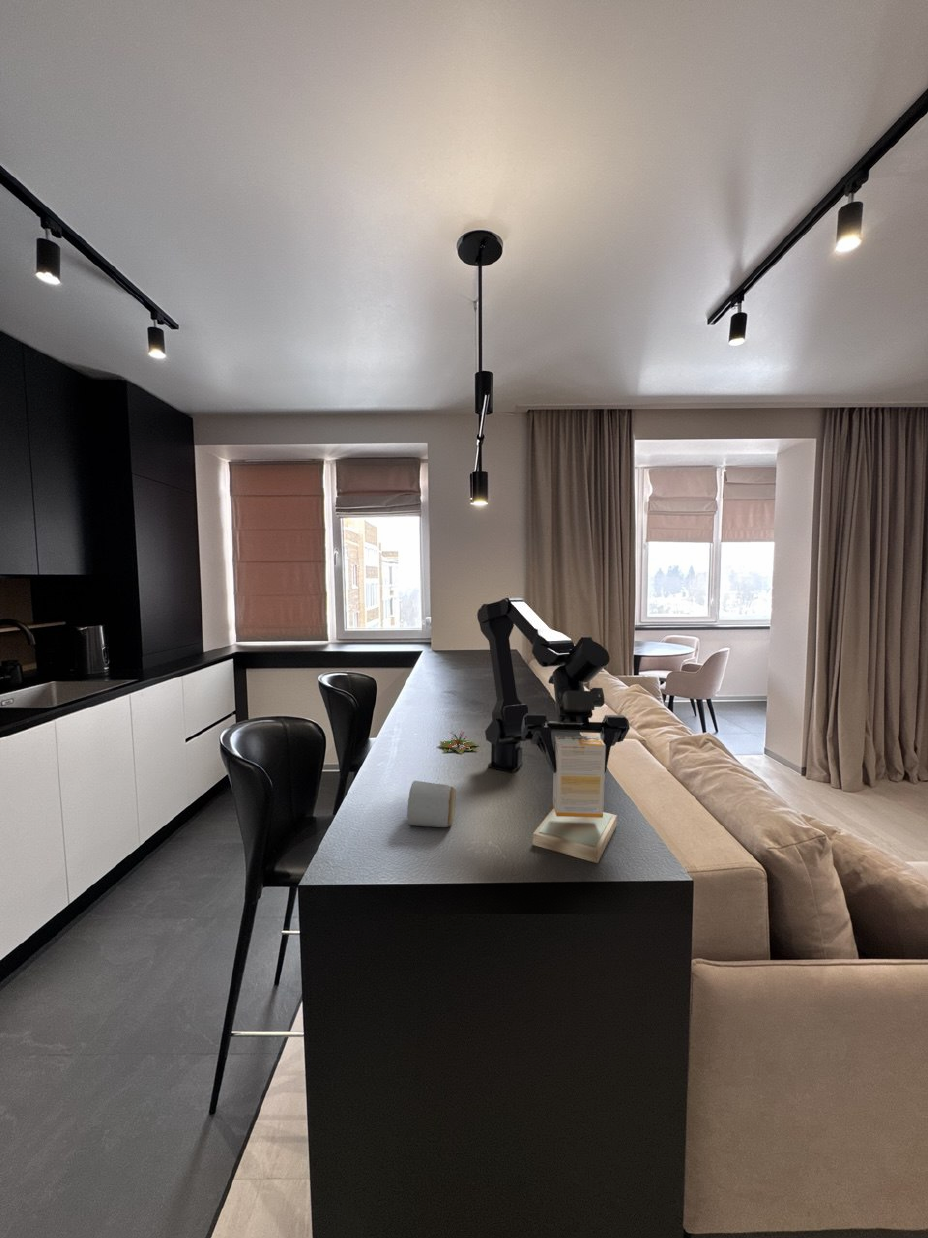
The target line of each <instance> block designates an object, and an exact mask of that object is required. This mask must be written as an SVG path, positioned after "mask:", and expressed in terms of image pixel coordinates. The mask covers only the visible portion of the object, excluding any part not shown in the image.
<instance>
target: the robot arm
mask: <svg viewBox="0 0 928 1238" xmlns="http://www.w3.org/2000/svg"><path fill="white" fill-rule="evenodd" d="M476 616H477V617H476V618H477V621H478V623H479V627H480V631H481V633H482V635H483V636H485V638H486V639H487V641H488V645H489V651H490V659H491V666H492V674H493V680H494V681H493V682H494V687H495V688H494V689H495V694H496V695H495V696H496V702H495V704H494V707H493V710H492V712H491V718H492V720H491V722H490V724H489V725H488V726H487V728H486V729H485V730H484V733H485V740H486V741H488V742H489V743H491V748H490V749H491V750H490V751H491V752H490V763H488V764H487V767H488V768H491V769H497V770H500V771H506V772H509V773H510V772H511V773H514V772H515V771H516V770H518V768H520V767H521V766H522V765H523V763H524V762H523V748H522V747H521V746H522V745H521V742H526V741H530V742H531V744H532V745H535V746H537V748H538V749H539V750H540V752H541V753H542V755H543V756H544V758H545V760H546V761H547V764H548V765H549V767H550V769H551V771H552V773H553V774H554V773H556V771H557V769H556V759H555V754H554V743H553V739H552V733H578V734H579V733H580V734H581V733H583V734H586V733H587V734H599V737H600V738H601V739H602V741H603V743H604V744H605V745H606V750H605V774H606V773H607V769H608V763H609V756H610V752H611V748H612V747H614V746H615V745H616V743H622V742H623V741H624V740H625V737H626V736H627V734H628V732H629V731H630V728H631V727H630V722H629V719H628V718H627V717H626V716H625V715H623V714H622V715H620V714H618V715H617V714H616V715H615V714H605V715H604V717H603V718H602V722H601V721H590V719H591V718H592V717H593V711H595V709H596V708H602V707H603V706H604V705H605V694H604V688H603V687H592V689H590V690H585V684H584V683H588V682H590V681H592V680H593V679H594V678H595V677H596V676H597V675H598V674H600V673H601V671H602V670H603V669H604V668H606V666H607V665H608V664H609V662H610V660H611V659H610V654H609V652H608V650H607V649H606V648H604V647H603V646H602V645H601V644H600V643H598V642H596V641H594V640H593V639H592V636H581V637H580V638H579V639H578V641H577V643H576V644H575V643H574V642H573V641H574V640H572V639H571V638H570V637H568V636H567V635H565V634H564V633H562V632H559V631H556V630H554V629H551V628H550V627H549V626H548V625H547V624H546V623H545V622H544V621H543V620H542V619H541V618H540V617H539V616H538V615H537V614H536V613H535V612H534V611H533V609H531V608H530V607H529V605H528V604H527V602H526V600H525V599H524V598H522V597H505V598H502V599H500V600H498V601H494V602H490V603H484V604H482V605H481V607H480V608H479V609H478V610H477V615H476ZM515 626H516V627H517V629H518V630H519V631H520V632H521V634H522V635H523V636H524V637H525V638H526V639H527V641H529V643H530V644H531V653H532V655H533V657H534V659H535V660H536V662H537V663H538V664H539V665H540V666H541V667H542V668H548V667H549V668H551V667H556V668H555V669H554V670H553V671H552V674H551V675H550V677H549V679H548V684H551V685H553V691H554V693H553V694H554V700H555V701H554V703H555V711H556V720H548V719H547V715H546V713H540V712H539V713H537V712H534V713H532V712H531V713H529V707H528V705H527V703H522V701H521V700H520V699H519V697H518V691H517V683H516V675H515V671H514V664H513V656H512V648H511V642H510V641H511V640H510V636H511V634H512V632H513V629H514V627H515Z"/></svg>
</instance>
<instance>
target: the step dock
mask: <svg viewBox="0 0 928 1238" xmlns="http://www.w3.org/2000/svg"><path fill="white" fill-rule="evenodd" d="M617 821H618V815H617V814H613V813H609V812H605V811H603V818H595V817H563V816H562V817H559V816H558V817H557V816H556V813H555V809H554V807H553V809H551V810H550V812H549V813H548V814H547V816H545V818H544V819H543V821H542V822H541V823H540V824H539V825H538V827H537V828H536V829H534V832H533V833H532V846H536V847H540V848H543V849H546V850H550V851H553V852H557V853H560V854H564V855H568V856H571V857H575V858H578V859H582V860H585V861H589V862H592V863H595V864H599V861H600V860H601V858H602V855H603V854H604V851H605V850H606V847H607V846H608V843H609V842H610V840H611V837H612V835H613V834H614V831H615V829H616V828H617V823H618V822H617Z"/></svg>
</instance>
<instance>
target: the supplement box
mask: <svg viewBox="0 0 928 1238" xmlns="http://www.w3.org/2000/svg"><path fill="white" fill-rule="evenodd" d="M553 749H554V754H555V759H556V769H557V771H556V773H553V777H552V778H553V780H552V782H553V783H552V785H553V786H552V806H553V808H554V809H555V813H556V816H557V817H558V816H559V817H562V816H563V817H595V818H603V812H604V805H605V804H604V803H605V802H604V801H605V800H604V799H605V776H606V773H605V750H606V745H605V744H604V743H603V741H602V739H601V738H600V736H591V735H590V736H585V735H554V741H553Z"/></svg>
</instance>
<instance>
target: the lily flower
mask: <svg viewBox="0 0 928 1238" xmlns="http://www.w3.org/2000/svg"><path fill="white" fill-rule="evenodd" d="M458 730H459V729H458ZM458 730H457V732H458ZM450 734H451V735H452V737H450V740H444V741H442V740H439V742H440V743H441V744H440V745H438V746H436V748H443V747H444V748H443V751H442V753H443V754H444V753H450V752H452V750H449V748H450V749H453V750H455V751H454V752H458V753H459V754H460V755H462V754H463V753H464V751H467V752H468V751H469V752H472V751H471V750H468V749H467V748H466V747H470V749H472V750H474V751H473V752H478V750H477V749H476V747H478V745H479V744H476V743H474V742H473V740H472V741H471V742H466V741H470V740H471V739H468V740H467V739H466V738H467V737H468V736H464V734H465V731H464V732H463V730H461V731H460V734H456V733H455V732H454V731H453V730H451V732H450ZM462 738H463V739H462ZM455 739H456V740H455ZM444 742H445V743H444ZM463 742H466V743H464V744H463ZM450 743H451V744H450ZM456 744H457V745H456ZM459 744H460V745H464V746H465V747H463V746H462V747H463V748H462V747H461V746H460V745H459ZM454 745H456V747H457V748H456V747H455V746H454ZM452 746H454V747H452ZM473 746H475V747H473ZM460 747H461V749H460ZM447 751H448V752H447Z"/></svg>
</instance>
